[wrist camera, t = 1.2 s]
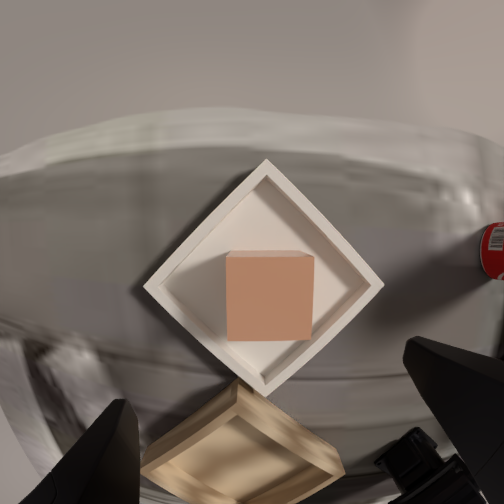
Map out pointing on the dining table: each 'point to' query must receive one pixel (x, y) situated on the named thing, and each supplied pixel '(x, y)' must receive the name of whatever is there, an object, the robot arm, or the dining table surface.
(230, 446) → the wooden bin
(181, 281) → the tray
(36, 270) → the dining table surface
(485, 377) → the robot arm
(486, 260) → the beverage can
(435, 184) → the dining table surface
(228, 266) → the clay block
